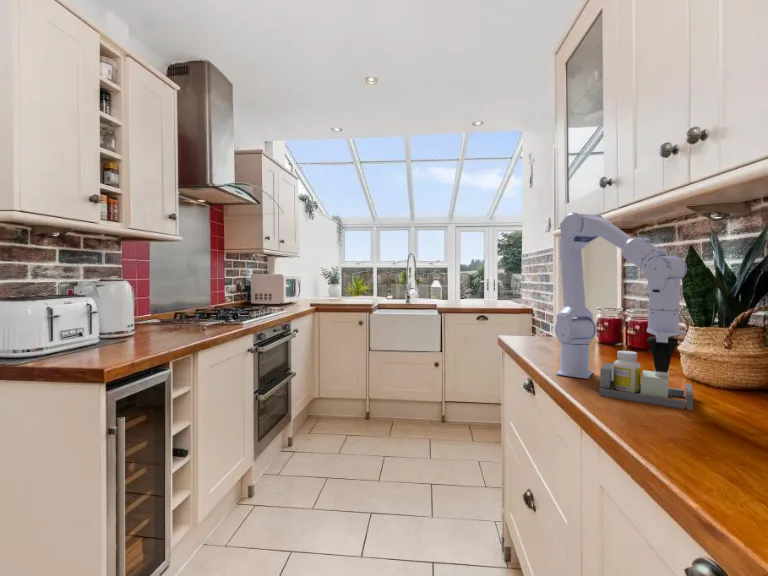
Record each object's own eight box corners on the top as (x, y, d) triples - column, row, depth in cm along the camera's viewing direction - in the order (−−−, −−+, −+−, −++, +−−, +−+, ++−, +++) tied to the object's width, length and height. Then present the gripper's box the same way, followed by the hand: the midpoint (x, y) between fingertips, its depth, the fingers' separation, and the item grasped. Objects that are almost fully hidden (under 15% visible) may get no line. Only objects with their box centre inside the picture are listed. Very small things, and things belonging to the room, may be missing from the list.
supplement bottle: (632, 391, 100) (633, 350, 99) (644, 397, 94) (645, 354, 94) (609, 390, 100) (610, 349, 100) (619, 396, 95) (620, 354, 95)
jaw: (642, 391, 98) (643, 351, 98) (668, 394, 96) (669, 353, 95) (640, 398, 93) (641, 355, 92) (667, 402, 90) (669, 358, 90)
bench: (605, 385, 105) (605, 361, 104) (690, 397, 95) (691, 371, 95) (598, 395, 96) (599, 369, 95) (692, 410, 86) (693, 381, 86)
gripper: (686, 313, 85) (684, 379, 85) (685, 308, 96) (682, 367, 97) (645, 311, 89) (643, 374, 89) (648, 307, 100) (647, 363, 101)
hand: (661, 370), depth 93 cm, fingers closed on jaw, 2 cm apart
